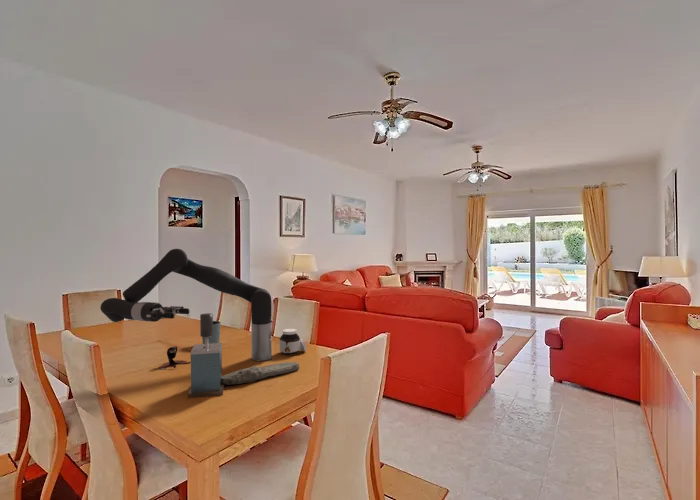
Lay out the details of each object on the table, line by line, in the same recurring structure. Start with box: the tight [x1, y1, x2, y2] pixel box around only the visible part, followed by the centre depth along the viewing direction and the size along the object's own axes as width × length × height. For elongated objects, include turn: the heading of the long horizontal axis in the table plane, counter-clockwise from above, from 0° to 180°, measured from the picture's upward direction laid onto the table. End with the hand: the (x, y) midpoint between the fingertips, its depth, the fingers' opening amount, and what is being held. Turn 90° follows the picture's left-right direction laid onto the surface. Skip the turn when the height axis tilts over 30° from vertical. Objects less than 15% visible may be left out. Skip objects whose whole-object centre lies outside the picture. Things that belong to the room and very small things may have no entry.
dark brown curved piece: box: [157, 345, 190, 371], centre depth 177 cm, size 11×12×15 cm
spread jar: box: [278, 328, 307, 356], centre depth 195 cm, size 12×11×12 cm
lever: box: [199, 312, 214, 348], centre depth 146 cm, size 4×4×25 cm
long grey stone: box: [221, 361, 300, 385], centre depth 161 cm, size 35×5×10 cm
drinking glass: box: [201, 320, 221, 344], centre depth 209 cm, size 10×10×12 cm
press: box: [187, 342, 226, 399], centre depth 146 cm, size 12×12×16 cm
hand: (181, 313), depth 150 cm, fingers open, 8 cm apart
